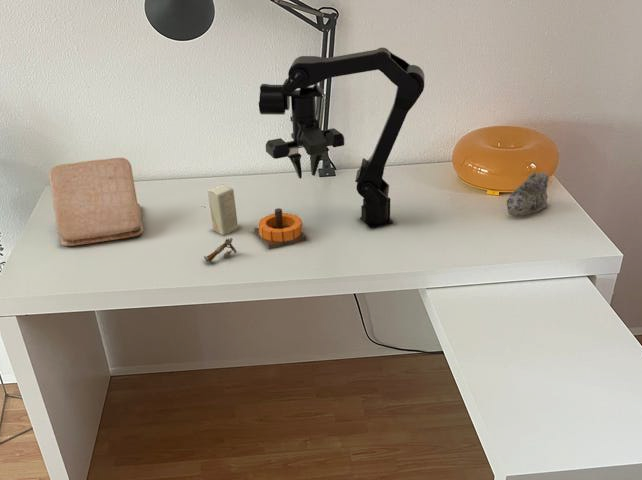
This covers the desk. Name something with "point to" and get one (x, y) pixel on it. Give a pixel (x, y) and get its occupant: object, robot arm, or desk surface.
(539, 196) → the mineral rock
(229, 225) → the box
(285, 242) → the brown peg stand
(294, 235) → the orange ring
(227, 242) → the wooden post with brackets
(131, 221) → the case
